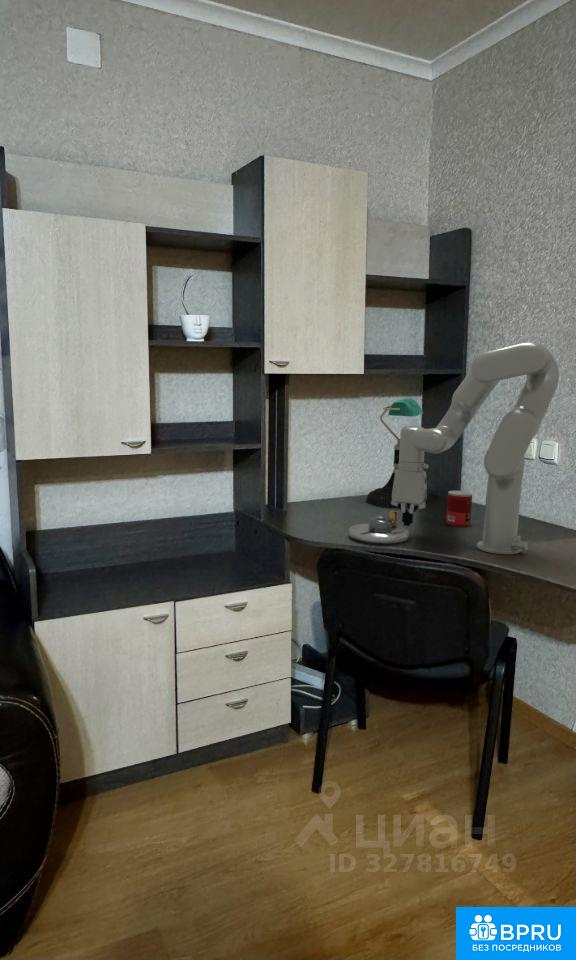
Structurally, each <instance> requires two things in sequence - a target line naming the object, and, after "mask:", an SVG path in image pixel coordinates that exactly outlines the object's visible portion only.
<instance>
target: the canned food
mask: <svg viewBox="0 0 576 960" xmlns="http://www.w3.org/2000/svg"><path fill="white" fill-rule="evenodd" d="M472 506H473V493H472V492H470V491H465V490H449V491H448V492H447V500H446V515H445V517H446V518H445V519H446V520H445V522H446V524H447V525H448V526H451V527H456V528H467V527H469V526H470V524H471V517H472Z"/></svg>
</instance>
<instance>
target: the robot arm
mask: <svg viewBox="0 0 576 960" xmlns="http://www.w3.org/2000/svg"><path fill="white" fill-rule="evenodd" d="M521 376H526V379H525V382H524V385H523V387H522V388H521V390H520V393H519V395H518V397H517V400H516V402H515V404H514V406H513V407H512V409H511V410H509V411H508V412H507V413H505V414H504V415H503V418H502V419H501V420H500V423H499V425H498V427H497V428H496V431H495V433H494V436H493V437H492V440H491V441H490V444H489V446H488V448H487V451H486V453H485V455H484V457H483V466H484V469H485V471H486V473H487V475H488V476H487V483H486V497H485V507H484V521H483V522H484V523H483V532H482V540H480V541H478V542H477V543H476V547H477V549H479V550H480V551H483V552H487V553H489V554H497V555H517V554H520V553H521V552H522V550H523V551H528V550H529V542H527V541H522V540H521V538H522V537H521V535H518V532H519V531H518V530H519V518H520V508H521V507H520V505H521V495H522V485H523V476H524V469H525V464H526V463H525V462H526V461H525V460H526V459H525V458H526V457H525V455H526V453H527V452H528V451H527V450H528V448H529V447H530V444H531V443H532V441H533V439H534V437H536V435H537V434H538V432H539V430H540V427H541V424H542V422H543V420H544V418H545V416H546V413H547V411H548V409H549V407H550V405H551V402H552V400H553V398H554V395H555V393H556V390H557V388H558V386H559V378H560V369H559V366H558V363H557V360H556V359H555V357H554V356H553V354H552V352H551V351H550V350H548V348H547V347H546V346H544V345H543V344H540V343H539V342H538V343H537V342H532V341H527V342H522V343H517V344H514V345H509V346H505V347H501V348H497V349H493V350H488V351H482V352H481V353H479V354H477V355H476V356H475V357H474V358H473V359H472V361H471V364H470V370H469V371H468V373H467V375H466V376H465V377H464V379H463V380H462V382H460V384H459V386H458V387H457V388H456V390H455V391H454V392H453V394H452V397H451V404H450V406H449V408H448V410H447V412H446V413H445V415H444V416H443V418H441V419H440V422H439V423H438V424H437V426H436V427H434V428H433V427H431V428H424V427H423V426H417V425H416V426H415V425H406V426H402V428H401V429H400V437H399V439H400V451H399V467H398V470H396V473H395V477H394V483H393V490H392V502H391V504H392V505H394V506H397V507H399V509H398V510H400V511H401V513H402V515H401V516H402V517H401V518H402V519H401V522H402V523H403V526H404V527H405V526H406V527H410V526H411V524H413V521H414V513H415V512H416V511H417V510H421V509H422V510H423V509H425V508H426V507H427V498H428V496H427V495H428V487H427V486H428V485H427V484H428V481H427V479H428V478H427V472H426V471H424V470H427V469H429V464H428V463H425V453H430V454H440V453H442V452H444V451H446V450H447V451H448V450H449V449H450V448H451V447H453V446H454V444H456V442H457V441H458V439H459V438H460V437H461V435H462V434H463V433H464V431H465V430H466V428H467V427H468V426H469V424H470V422H471V421H472V419H473V418H474V417H475V416H476V414H477V413H478V411H479V409H480V408H481V406H482V405H484V402H486V400H487V398H488V397H489V396H490V394H491V393H492V392H493V390H494V389H495V387H496V386H497V385H498V384H499V382H500V381H502V380H506V379H507V380H508V379H511V378H516V377H521ZM425 501H426V502H425ZM407 504H411V505H410V509H407ZM416 504H417V505H416Z"/></svg>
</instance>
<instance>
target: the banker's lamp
mask: <svg viewBox="0 0 576 960" xmlns="http://www.w3.org/2000/svg"><path fill="white" fill-rule="evenodd" d="M382 410H383V412H382V413H381V415H380V416H379V420H380V422H381V423H382V425H383V426H384V427H385V428H386V429H387V431H388V432H390V434H391V435H392V436H393V437H394V438H395V439H396V440H397V443H396V444H395V445H394V447H393V449H394V450H393V451H394V453H393V465H392V466H393V470H392V473H391V476H390V478H389V479H388V481H387V482H386V484H384V486H383V487H379V488H375V489H374V490H372V491H370V492H369V493H368V494H367V496H366V500H365V502H366V503H367V504H369V505H371V504H372V505H371V506H374V505H375V507H378V506H380V507H379V508H384V507H388V508H387V509H394V508H399V507H397V506H394V505H392V504H391V502H392V490H393V483H394V477H395V473H396V470H398V467H399V451H400V437H398V436H397V434H396V433H394V432H393V430H392V428H390V427H389V425H388V424H386V422H384V421H385V420H383V416H384V415H385V414H386V412H387V411H388V414H387V416H394V417H396V416H397V417H418V416H420V415H423V414H424V412H423V410H422V408H421V406H420V405H419V402H417V401H416V400H415V399H413V398H409V397H408V398H402V399H399V400H396V401H394V402H392V404H391V405H387V406H384V407H382ZM425 502H426V503H427V500H426V501H425ZM410 505H411V504H407V510H409V509H410ZM416 505H417V504H416Z"/></svg>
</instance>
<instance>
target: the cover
mask: <svg viewBox="0 0 576 960" xmlns="http://www.w3.org/2000/svg"><path fill="white" fill-rule="evenodd" d="M368 523H369V531H370V532H373V533H381V534H385V533H391V532H392V519H389V517H386V516H385V515H377V516H373V517H370V518H369V519H368Z"/></svg>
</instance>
